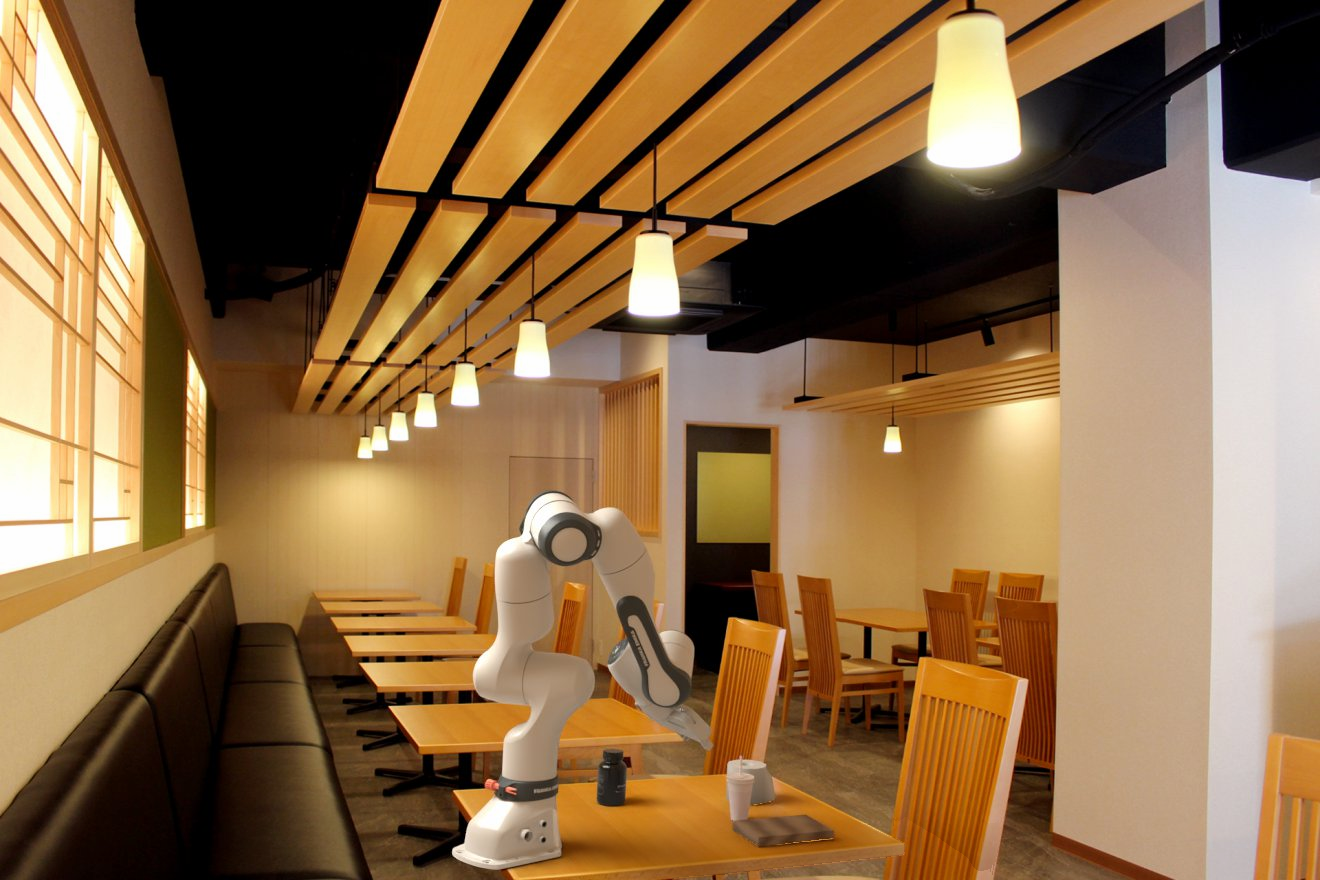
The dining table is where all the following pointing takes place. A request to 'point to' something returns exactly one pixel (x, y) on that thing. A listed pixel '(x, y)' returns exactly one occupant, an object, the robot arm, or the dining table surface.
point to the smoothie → (739, 793)
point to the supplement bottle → (611, 778)
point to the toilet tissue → (762, 778)
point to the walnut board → (782, 830)
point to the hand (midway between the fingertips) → (698, 743)
